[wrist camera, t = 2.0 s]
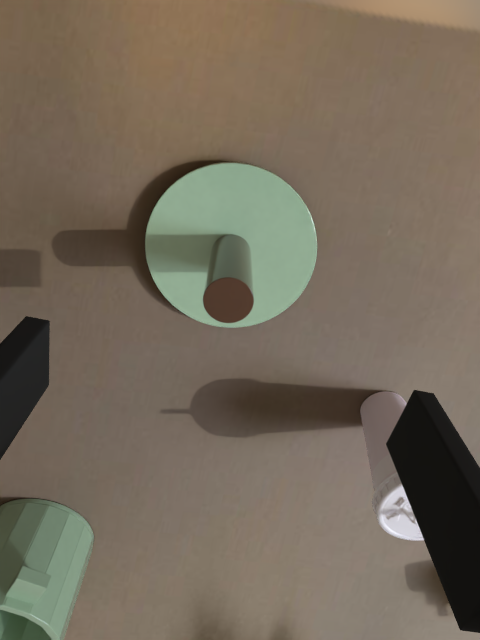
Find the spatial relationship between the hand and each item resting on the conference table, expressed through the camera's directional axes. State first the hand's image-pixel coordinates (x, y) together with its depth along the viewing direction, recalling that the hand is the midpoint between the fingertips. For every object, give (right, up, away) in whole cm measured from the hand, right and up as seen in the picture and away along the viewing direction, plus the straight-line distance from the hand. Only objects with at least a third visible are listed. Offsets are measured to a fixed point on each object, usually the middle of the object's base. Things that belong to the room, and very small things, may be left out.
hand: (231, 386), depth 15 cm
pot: (-20, -19, +28) cm, 39 cm away
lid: (0, +7, +13) cm, 15 cm away
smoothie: (+12, -5, +20) cm, 24 cm away
